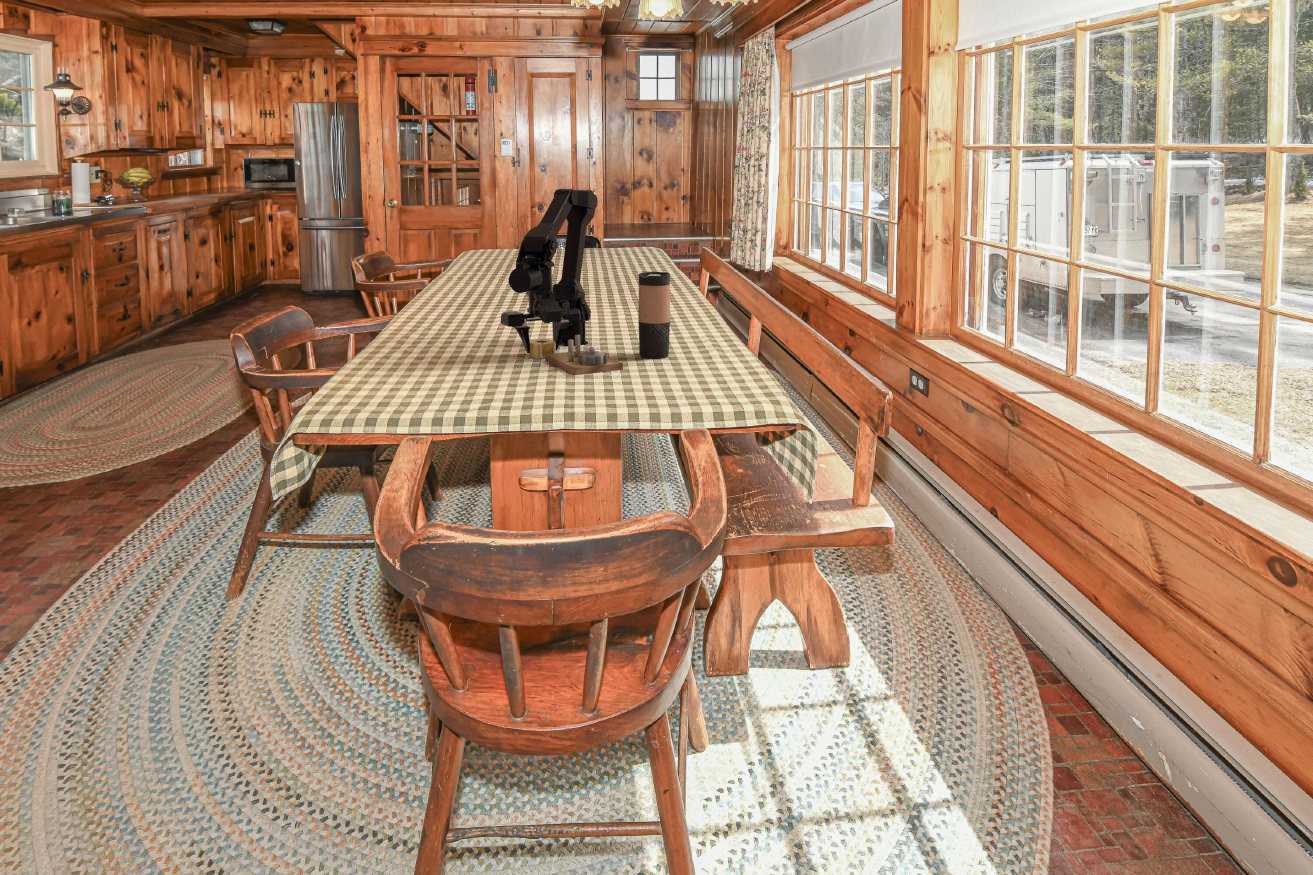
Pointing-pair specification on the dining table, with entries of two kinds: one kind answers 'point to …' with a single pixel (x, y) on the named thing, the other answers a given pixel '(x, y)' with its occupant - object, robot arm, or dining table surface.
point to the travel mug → (654, 314)
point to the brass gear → (542, 348)
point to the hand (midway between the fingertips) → (542, 351)
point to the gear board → (583, 360)
